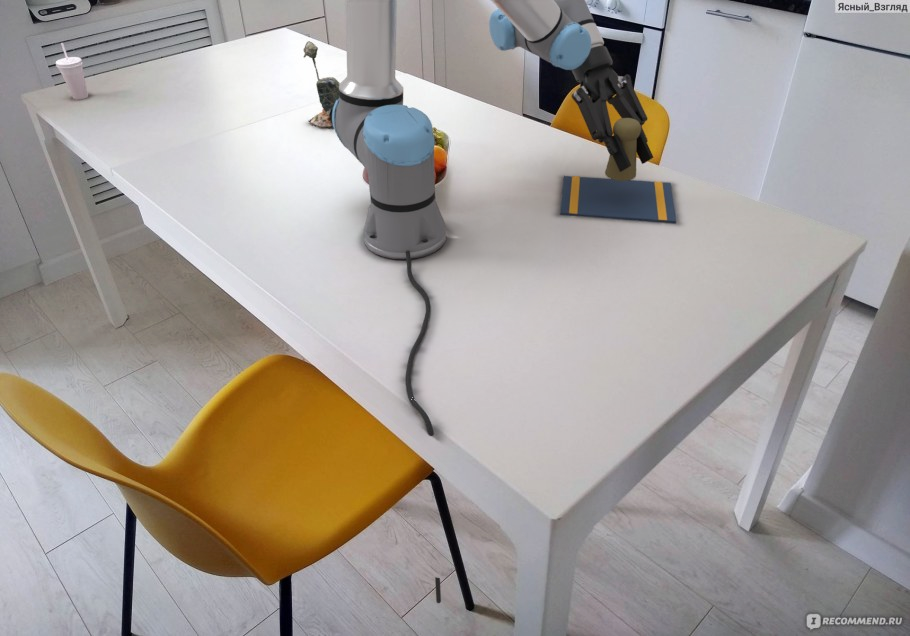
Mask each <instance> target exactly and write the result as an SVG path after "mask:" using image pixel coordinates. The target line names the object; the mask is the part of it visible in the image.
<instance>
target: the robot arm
mask: <svg viewBox="0 0 910 636" xmlns="http://www.w3.org/2000/svg"><path fill="white" fill-rule="evenodd" d="M490 1H491V2H492V3H493V5H495V7H496V8H497V9H495V10H493V11H492V13H491V14H490V16H489V20H488V27H489V33H490V38H491V40H492V43H493V44H494V46H495V47H496V48H497V49H498V50H500V51H503V52H504V51H510V50H515V49H516V48H521V49H523V50H526V51H527V52H529V53H531V54H533V55H535V56H537V57H539V58H540V59H542V60H544V61H546V62H547V63H549V64H551V65H552V66H553V67H555V68H560V69H563V70H565V71H571V72H572V75H573V76H574V79H575V81H576V82H577V83H579V87H578V88H577V89H576V90H574V92H573V93H572V94H571V99H572V100H573V101H574V102H575V104H576V105H577V107H578V109H579V111H580V114H581V116H582V118H583V121H584V123H585V125H586V127H587V130H588V132H589V134H590V137H591V138H592V140H593V141H597V140H598V142H599V143H600V144H603V143H604V146H605V148H606V150H607V152H608V154H609V156H610V155H611V156H612V155H613V158H614V160H615V162H616V164H617V166H618V169H619V171H620V172H621V171H624V170H625V169H627V168H628V167H630V166H631V163H630V161H629V159H628V157H627V154H626V152H625V150H624V148H623V146H622V143H621V141H620V139H619V137H618V135H617V134H616V135H614V134H613V126H612V123H611V118H610V114H609V108H608V105H607V103H608V104H609V105H612V107H613V108H614V109H615V111H616V113H617V114H618V116H619V117H620V119H621V118H632V119H635V120H637V121H638V122H639V123H640V125H641V132H640V135H639V137H638V138H637V152H636V155H637V156H638V158H639V160H640V163H641V165H643V164H646V163H648V162H649V161H650V160H652V159H653V158H654V155H653V153H652V151H651V149H650V146H649V144H648V137H647V135H646V133H645V131H644V129H643V125H645V123H646V122H647V121H648V116H647V114H646V112H645V109H644V108H643V105H642V103H641V101H640V99H639V97H638V95H637V93H636V90H635V89H634V86H633V83H632V78H631V77H632V76H631V75H630V74H625V75H624V76H622V75H621V76H620V75H618V73H616V71H615V70H614V69H613V59H612V56H611V55H610V53H609V50H608V48H607V46H604V44H605V41H604V39H603V37H602V34H601V32H600V30H599V28H598V26H597V24H596V22H595V20H594V17H593V14H592V12H591V10H590V8H589V6H588V3H587V1H586V0H490ZM397 2H398V0H345V39H346V44H345V45H346V77H345V78H344V79H343V80H342V81H341V82H339V83H340V84H339V99H338V100H336V102H335V104H334V107H333V112H332V122H333V126H332V127H333V130H334V132H335V134H336V136H337V138H338V140H339V141H340V143H341V145H343V147H344V148H346V149H347V150H348V151H349V153H351V155H352V156H354V158H355V159H357V160H358V162H359V163H360V164H361V165H362V166H363V168H365V170H366V172H367V178H368V187H369V197H370V204H369V208H368V212H367V215H366V219H365V222H364V227H363V241H364V244H365V246H366V248H367V249H368V250H369V251H370V252H371V253H373V254H375V255H377V256H380V257H383V258H387V259H390V260H391V259H392V260H405V261H406V273H407V277H408V279H409V281H410V283H411V284H412V285H413V286H414V287H415V288H416V289H417V291H418V292H419V293H420V294H421V295H422V297H423V300H424V303H425V312H424V313H425V314H424V318H423V321H422V325H421V328H420V331H419V334H418V336H417V338H416V340H415V342H414V343H413V345H412V348H411V350H410V353H409V355H408V359H407V365H406V368H405V369H406V370H405V389H406V394H407V397H408V400H409V403H410V404H411V406H412V407H413V408H414V409H415V410H416V411H417V413H419V415H420V417H421V418H422V419H423V421H424V424H425V427H426V430H427V435H428V436H429V437H434V435H435V432H434V428H433V425H432V422H431V419H430V417H429V416H428V414H427V412H426V411H425V409H423V407H422V406H421V405H420V404H419V403H418V402H417V400H416V398H415V396H414V393H413V388H412V370H413V363H414V359H415V356H416V354H417V351H418V349H419V347H420V345H421V343H422V341H423V339H424V337H425V334H426V331H427V327H428V324H429V320H430V317H431V316H430V315H431V300H430V297H429V295H428V293H427V292H426V291H425V289H424V288H423V287H422V286H421V285H420V284H419V283H418V282H417V281H416V279H415V277H414V274H413V271H412V260H413V259H418V258H419V259H420V258H423V257H426V256H429V255H431V254H433V253H435V252H437V251H438V250H439V249H441V248H443V246H444V244H445V243H446V240H447V225H446V222H445V220H444V217H443V214H442V212H441V210H440V207H439V205H438V202H437V199H436V179H435V178H436V175H435V174H436V172H435V170H436V169H435V144H436V142H435V141H436V139H435V134H434V129H433V124H432V121H431V119H430V118H429V116H428V115H427V114H426V113H424V112H423V111H421V110H420V109H418V108H416V107H409V106H407V105H405V104H404V86H403V85H402V84H401V83H400V82H399V81H398V80H397V78H396V60H397V59H396V58H397V57H396V56H397V53H396V52H397V51H396V50H397V12H398V11H397V7H398V4H397ZM412 397H413V398H412ZM411 399H412V400H411ZM414 399H415V400H416V401H415V400H414ZM434 579H435V581H434V583H435V600H436V603H437V604H440V603H442V595H441V594H442V593H441V592H442V591H441V578H440V577H435V576H434Z"/></svg>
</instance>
